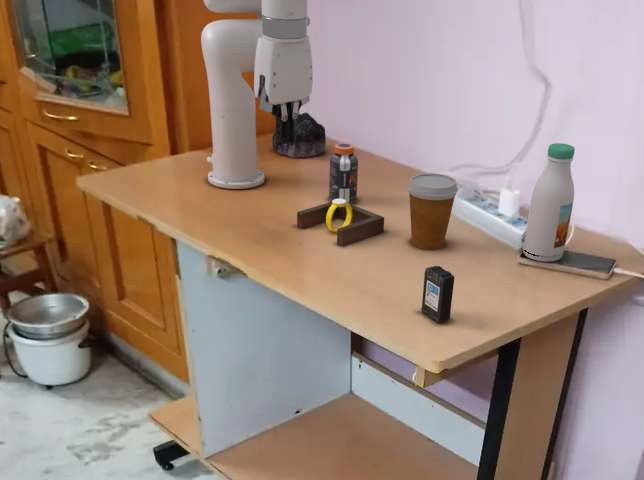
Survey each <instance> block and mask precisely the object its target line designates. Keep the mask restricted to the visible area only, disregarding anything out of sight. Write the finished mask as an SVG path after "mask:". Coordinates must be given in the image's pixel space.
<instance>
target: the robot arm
mask: <svg viewBox="0 0 644 480" xmlns="http://www.w3.org/2000/svg"><path fill="white" fill-rule="evenodd" d="M202 2H203V3H204V6H205V7H206V8H207V10H208V11H210V12H213V13H217V14H244V13H245V14H247V13H251V14H252V13H253V14H255V15H256V16H257V18H252V19H251V18H245V19H244V18H233V19H232V18H231V19H229V18H228V19H218V20H214V21H211V22H209V23H208V24H206V25H205V26H204V27H203V29H202V32H201V34H200V44H201V50H202V56H203V60H204V65H205V71H206V76H207V84H208V85H207V86H208V95H209V96H208V97H209V109H210V110H209V111H210V123H211V125H210V126H211V140H212V141H211V142H212V154H211V156H207V158H206V162H207V163H209V164H211V167H212V170H211V171H209V172H208V174H207V181H208V183H209V184H211V185H212V186H215V187H217V188H221V189H228V190H243V189H251V188H255V187H259V186H260V185H263V184H264V182H265V178H266V175H265V173H264V172H263V171H261V170H259V169H258V147H257V145H258V144H257V118H256V99H258V100H259V110H260V111H263V112H265V113H270V114H271V115H272V117H273V118H274V119H275V126H276V130H275V132H276V139H277V141H280V142H282V143H285V144H289V143H293V142H294V119H296V118H297V116H298V114H299V111H300V109H301V108H302V106H305V105H307V104H308V103H309V102H310V100H311V99H310V96H311V95H312V92H313V80H314V78H313V77H314V75H313V74H314V73H313V55H312V48H311V47H312V46H311V40H310V36H309V35H308V26H310V24H311V19H310V17H309V16H308V0H203V1H202ZM250 72H254V75H253V89H252V88H251V86H250V84H249V83H248V82H247V81H246V80H245V78H243V74H244V73H250ZM253 90H254V91H253Z"/></svg>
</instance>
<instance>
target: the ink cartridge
mask: <svg viewBox="0 0 644 480" xmlns="http://www.w3.org/2000/svg"><path fill="white" fill-rule="evenodd" d="M423 276H424V277H423V290H422V302H421V308H420V310H421V313H422V314H423V315H425V316H427V317H428V318H429V319H431V320H432V321H434V322H435V323H437V324H439V323H442V322H446V321H450V319H451V311H452V303H453V302H452V301H453V294H454V285H455V276H454V275H453V274H452V272H450V271H449V270H447V269H444V268H443V267H442V266H440V265H434V266H429V267H426V268H425V270H424V275H423Z"/></svg>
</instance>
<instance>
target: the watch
mask: <svg viewBox="0 0 644 480" xmlns="http://www.w3.org/2000/svg"><path fill="white" fill-rule="evenodd" d="M331 202H332V205H331V207H330V208H329V209H328V212H327V215H326V221H325V224H326V226H327V228H328V230H329V231H331V232H333V233H334V234H337V229H338V228H341V227H344V226H347V225H350V224H352V223H351V220H352V216H353V214H352V208H351V206H350V204H351V203H350V204H348V203H346V200H345V199H334V200H333V201H331ZM343 206H345V207H346V208H347V216H346V220H344V221H343V223H342V225H340V226H339V227H336V228H334V226H333V219H332V216H333V213H334V211H335V210H336V208H337V207H343Z"/></svg>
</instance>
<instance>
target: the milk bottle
mask: <svg viewBox="0 0 644 480" xmlns="http://www.w3.org/2000/svg"><path fill="white" fill-rule="evenodd" d="M575 149H576V148H575V147H574V146H573V145H571V144H567V143H561V142H560V143H559V142H557V143H556V142H555V143H551V144H549V145H548V149H547V155H546V158H547V162H546V165H545V167H544V170H543V171H542V172H541V174H540V176H539V177H538V179H537V180H536V183H535V185H534V187H533V191H532V193H531V194H532V195H531V199H530V205H529V211H528V216H527V220H526V221H527V224H526V228H525V232H524V233H525V234H524V239H523V247H522V252H523V255H524V256H526V257H527V258H528V259H531V260H535V261H538V262H548V263H549V262H556V261H559V260H561V259H562V257H563V256H564V253H565V248H566V242H567V237H568V233H569V227H570V222H571V217H572V212H573V206H574V200H575V185H574V181H573V180H574V179H573V177H572V176H573V175H572V169H571V168H572V167H571V166H572V165H571V164H572V162H573V160H574V157H575V156H574V155H575ZM524 250H526V251H527V252H529V253H531V254H535V255H541V256H542V255H544V256H553V255H558V254H561V253H563V252H564V253H563V254H562V255H561V256H559V257H554V258H543V257H537V256H533V255H531V254H528V253H527V252H525V251H524Z"/></svg>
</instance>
